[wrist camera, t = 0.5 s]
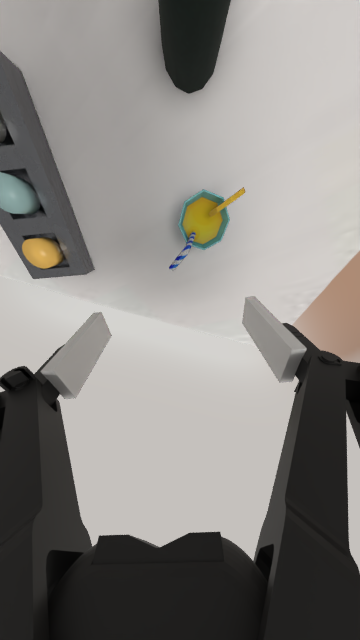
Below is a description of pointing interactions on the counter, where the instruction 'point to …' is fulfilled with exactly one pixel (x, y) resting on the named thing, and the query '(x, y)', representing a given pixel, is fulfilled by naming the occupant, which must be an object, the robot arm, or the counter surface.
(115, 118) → the counter surface
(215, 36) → the wine bottle
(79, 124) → the counter surface
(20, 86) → the console
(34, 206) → the button teal
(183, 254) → the cup
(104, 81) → the counter surface
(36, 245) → the button amber
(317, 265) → the counter surface
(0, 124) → the button ivory
